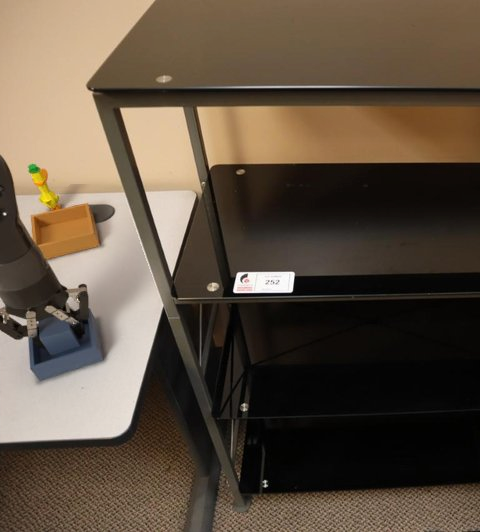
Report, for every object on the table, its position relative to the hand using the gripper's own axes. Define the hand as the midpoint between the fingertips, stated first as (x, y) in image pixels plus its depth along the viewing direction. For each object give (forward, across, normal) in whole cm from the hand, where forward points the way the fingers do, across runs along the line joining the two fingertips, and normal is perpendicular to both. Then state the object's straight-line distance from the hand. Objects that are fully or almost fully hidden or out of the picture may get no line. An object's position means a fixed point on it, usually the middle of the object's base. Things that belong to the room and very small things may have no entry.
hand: (63, 339), depth 87 cm
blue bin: (+3, 0, 0) cm, 3 cm away
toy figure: (+3, -1, -42) cm, 42 cm away
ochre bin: (+3, -2, -31) cm, 31 cm away
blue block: (0, 0, 0) cm, 0 cm away
